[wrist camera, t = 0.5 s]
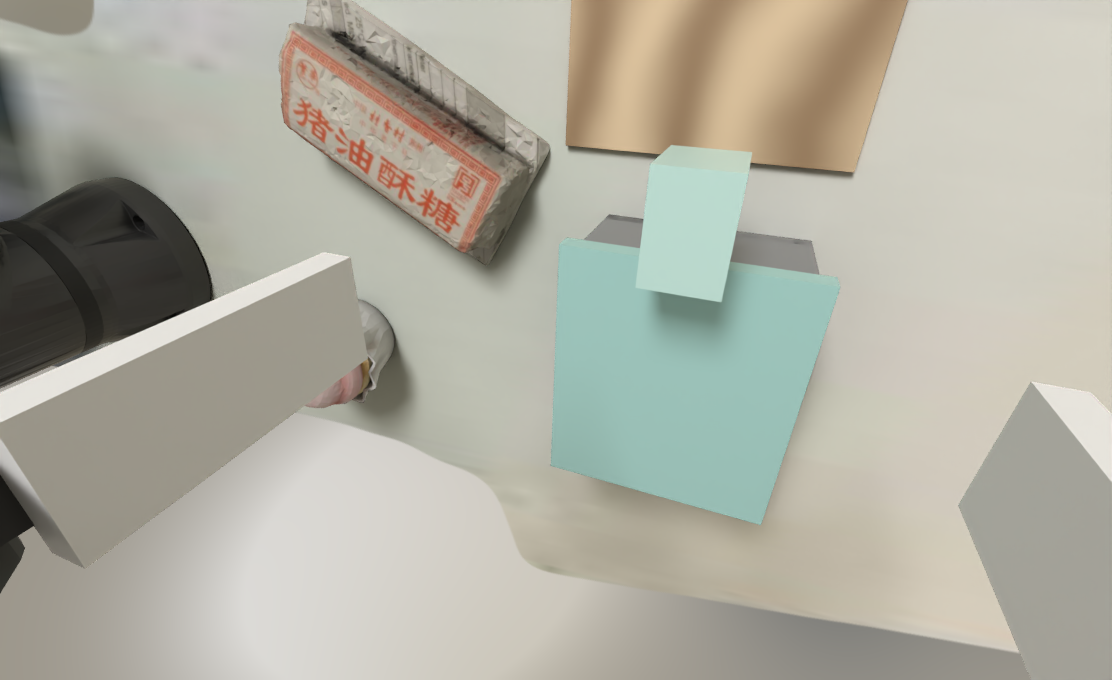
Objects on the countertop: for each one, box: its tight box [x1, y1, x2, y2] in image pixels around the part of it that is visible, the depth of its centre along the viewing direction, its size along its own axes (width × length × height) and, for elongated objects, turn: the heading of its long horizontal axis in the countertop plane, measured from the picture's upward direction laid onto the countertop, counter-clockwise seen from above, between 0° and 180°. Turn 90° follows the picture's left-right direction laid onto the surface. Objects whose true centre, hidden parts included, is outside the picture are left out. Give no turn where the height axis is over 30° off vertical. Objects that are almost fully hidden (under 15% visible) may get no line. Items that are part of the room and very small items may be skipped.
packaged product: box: [279, 0, 550, 266], centre depth 33 cm, size 18×5×10 cm
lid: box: [551, 145, 840, 525], centre depth 25 cm, size 13×20×5 cm, turn 177°
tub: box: [584, 215, 820, 275], centre depth 32 cm, size 12×14×7 cm
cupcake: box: [305, 300, 394, 408], centre depth 41 cm, size 9×9×10 cm
